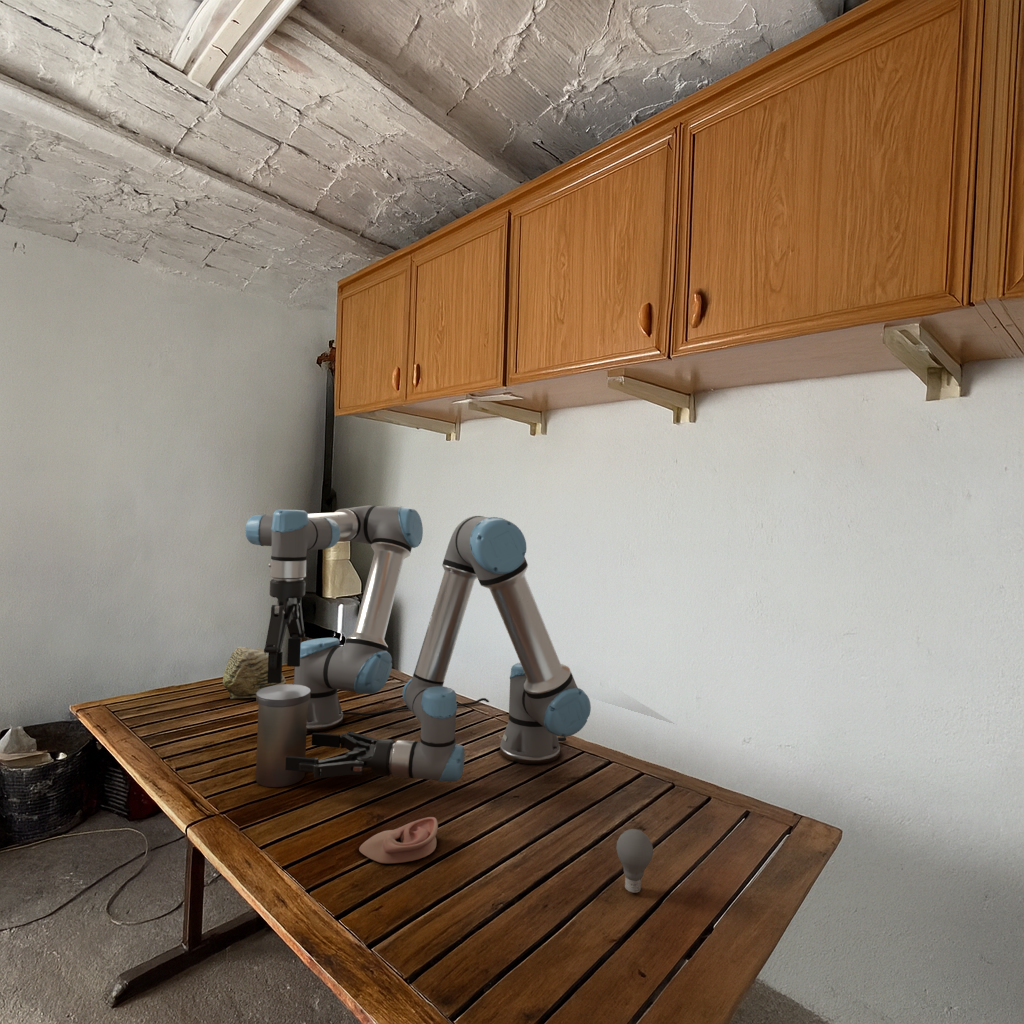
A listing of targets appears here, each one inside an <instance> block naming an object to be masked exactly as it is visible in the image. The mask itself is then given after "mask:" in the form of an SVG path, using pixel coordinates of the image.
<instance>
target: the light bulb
mask: <svg viewBox="0 0 1024 1024" xmlns="http://www.w3.org/2000/svg"><path fill="white" fill-rule="evenodd" d="M615 849H616V854H617V857H618V859H619V861H620V863H621V865H622V867H623V873H624V874H623V875H624V876H625V878H624V888H625V890H627V891H628V892H630V893H634V894H635V893H639V892H640V891H641V889H642V887H641V886H642V879H643V877H644V875H645V871H646V868H647V867H648V866H649V864H650V863H651V861H652V859H653V855H654V847H653V843H652V841H651V838H649V836H648V835H647V834H646V833H645V832H643V831H642V830H641V829H636V828H629V829H627V830H625V831H623V832H622V833H621V834H620V835H619V837H618V839H617V841H616V847H615Z"/></svg>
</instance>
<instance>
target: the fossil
mask: <svg viewBox="0 0 1024 1024" xmlns="http://www.w3.org/2000/svg"><path fill="white" fill-rule="evenodd" d="M268 655H269V654H268V653H264V648H260V647H258V648H251V647H247V646H246V647H245V646H238V647H237V648H236V649H235V650H233V651H232V653H231V656H230V657H229V659H228V660H227V663H226V666H225V668H224V671H223V675H222V676H223V677H222V685H223V687H224V688H225V690H226V691H228V693H229V698H230V699H250V698H256V693H257V691H259V690H260V689H262V688H265V687H269V686H274V685H282V684H287V680H286V678H285V676H284V674H282V681H281V683H267V682H268Z"/></svg>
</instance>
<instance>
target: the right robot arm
mask: <svg viewBox="0 0 1024 1024" xmlns="http://www.w3.org/2000/svg"><path fill="white" fill-rule="evenodd" d="M524 535H525V534H524V533H523V532H522V530H521V529H520V527H518V526H517V525H516V524H515V523H513V522H512V521H510V520H507V519H505V518H502V517H497V516H491V517H490V516H489V517H488V516H484V515H473V516H469V517H467V518H465V519H463V520H462V521H461V522H460V523H459V524H458V525H457V526H456V527H455V528H454V530H453V532H452V534H451V536H450V539H449V542H448V545H447V548H446V551H445V553H444V557H443V561H442V564H441V566H442V568H443V571H444V572H443V575H442V579H441V582H440V586H439V587H438V588H439V589H438V592H437V596H436V599H435V602H434V605H433V608H432V612H431V615H430V619H429V621H428V625H427V629H426V632H425V635H424V638H423V642H422V645H421V648H420V652H419V655H418V659H417V662H416V665H415V668H414V672H413V674H412V677H411V678H410V679H409V680H408V681H407V682H406V683H405V684H404V686H403V688H402V699H403V702H404V704H405V707H408V709H407V710H409V711H410V712H412V714H413V715H414V716H415V718H416V719H417V720H418V721H419V723H420V738H419V739H420V740H419V741H415V740H406V739H404V740H403V739H398V740H394V739H388V738H373V737H371V736H370V737H369V736H367V735H364V734H361V733H358V732H354V731H351V730H348V731H346V733H342V734H334V733H322V732H311V746H312V747H313V746H315V747H324V748H325V747H327V748H336V749H337V748H340V749H341V750H343V749H346V750H348V751H347V752H346V753H345V754H344V755H339V756H335V757H334V756H333V757H329V758H324V759H319V758H318V757H307V756H306V757H294V756H287V757H286V767H285V770H291V771H303V772H305V773H313V779H316V780H317V779H325V778H334V777H343V776H351V775H352V776H353V775H354V776H356V775H357V776H361V775H363V774H364V769H365V768H366V769H369V768H370V770H371V772H372V774H373V775H374V776H380V777H390V776H392V777H395V778H403V780H407V779H408V778H409V779H419V780H427V781H428V780H429V781H438V782H457V781H459V780H460V779H461V778H462V776H463V773H464V767H465V758H466V757H465V756H466V753H465V746H463V745H461V744H458V743H456V725H457V710H458V706H457V704H458V703H457V702H458V701H457V693H456V691H455V690H454V689H453V688H451V687H447V686H444V684H445V681H446V680H445V679H446V676H447V672H448V670H449V666H450V663H451V660H452V656H453V654H454V650H455V646H456V643H457V641H458V636H459V633H460V631H461V627H462V624H463V621H464V617H465V614H466V610H467V607H468V604H469V601H470V597H471V594H472V591H473V587H474V583H475V581H476V580H478V583H479V585H480V586H481V587H484V588H486V589H489V591H490V593H491V596H492V599H493V601H494V604H495V605H496V608H497V610H498V613H499V616H500V617H501V620H502V621H503V624H504V627H505V629H506V632H507V634H508V638H509V639H510V642H511V643H512V647H513V648H514V651H515V653H516V655H517V658H518V660H519V662H517V663H515V664H513V665H512V666H511V668H510V675H509V697H508V699H509V700H508V702H509V703H508V721H507V724H506V727H505V729H504V732H503V734H502V738H501V740H500V743H499V744H500V746H499V752H500V754H501V755H502V756H503V757H504V758H505V759H507V760H509V761H511V762H514V763H518V764H525V765H544V764H548V763H552V762H554V761H556V760H558V758H559V757H560V754H561V745H560V742H566V741H567V737H572V736H574V735H576V734H577V733H579V732H580V731H581V730H582V729H583V728H584V727H585V726H586V724H587V722H588V719H589V717H590V715H591V708H592V706H591V701H590V698H589V696H588V694H587V693H586V692H585V691H584V690H583V689H581V688H580V687H578V685H577V683H576V681H575V678H574V676H573V673H572V671H571V668H570V666H568V665H566V664H563V663H561V661H560V658H559V655H558V653H557V651H556V648H555V646H554V644H553V640H552V639H551V636H550V634H549V631H548V629H547V626H546V623H545V621H544V619H543V617H542V614H541V612H540V608H539V607H538V604H537V601H536V599H535V596H534V594H533V591H532V589H531V586H530V584H529V582H528V580H527V577H526V572H527V569H528V568H529V567H528V566H529V564H528V562H527V559H526V553H527V541H526V538H525V536H524Z"/></svg>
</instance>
